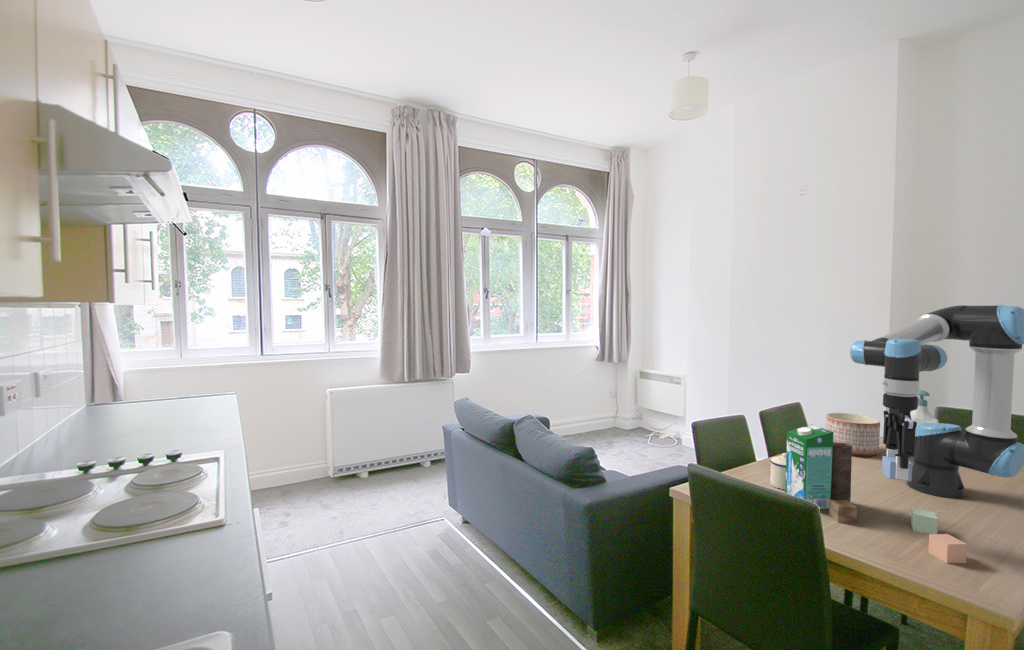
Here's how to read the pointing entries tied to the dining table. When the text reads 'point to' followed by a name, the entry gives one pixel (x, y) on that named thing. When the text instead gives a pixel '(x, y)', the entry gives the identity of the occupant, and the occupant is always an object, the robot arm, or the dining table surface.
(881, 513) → the dining table surface
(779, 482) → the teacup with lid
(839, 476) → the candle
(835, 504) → the walnut cube
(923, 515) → the sage cube
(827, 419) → the planter
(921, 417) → the soap bottle
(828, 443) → the milk carton
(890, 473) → the slate blue cube
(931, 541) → the terracotta cube
